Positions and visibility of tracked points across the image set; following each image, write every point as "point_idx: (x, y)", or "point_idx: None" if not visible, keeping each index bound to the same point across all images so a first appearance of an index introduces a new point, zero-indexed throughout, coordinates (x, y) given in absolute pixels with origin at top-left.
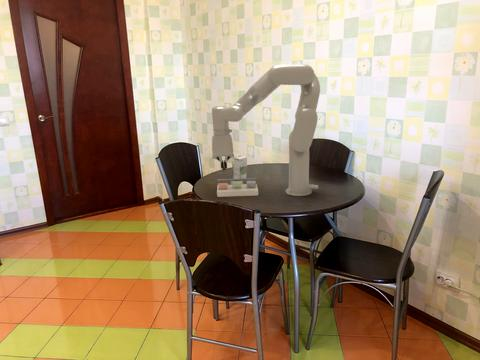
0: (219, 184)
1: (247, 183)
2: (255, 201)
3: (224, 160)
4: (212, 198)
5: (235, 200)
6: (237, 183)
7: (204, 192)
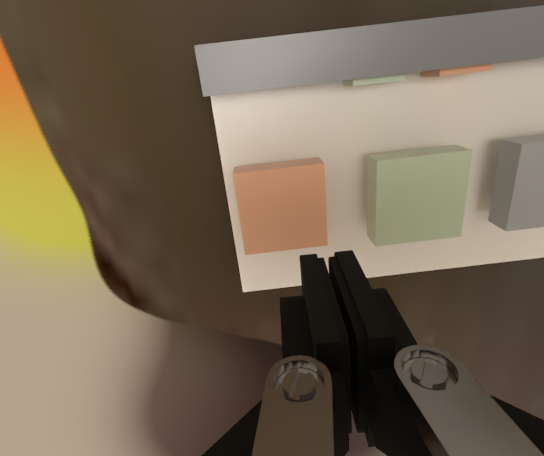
0: (248, 215)
1: (511, 229)
2: (474, 340)
3: (389, 446)
4: (219, 300)
5: None
6: (421, 234)
7: (121, 172)
